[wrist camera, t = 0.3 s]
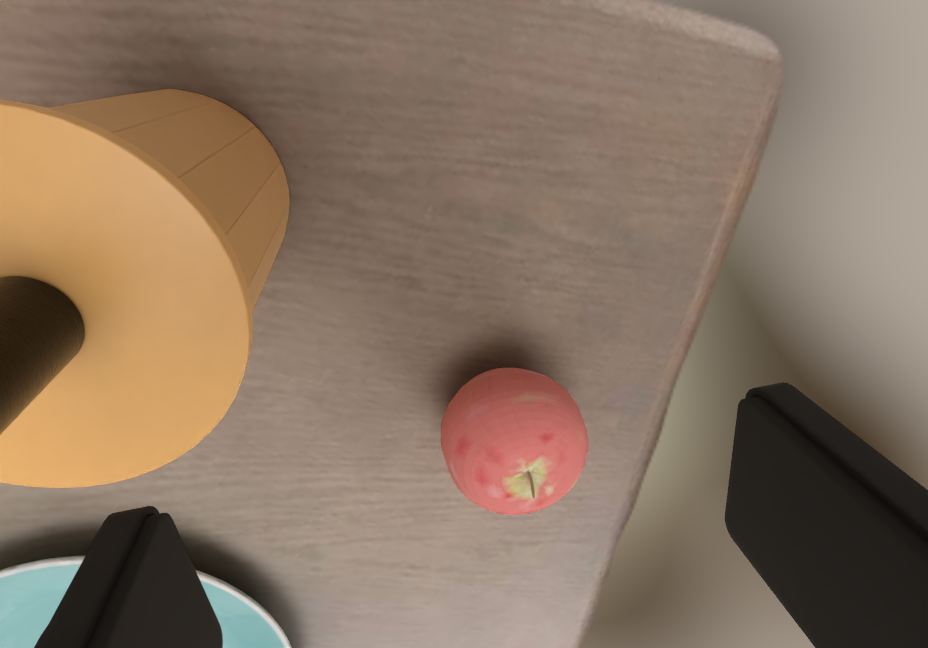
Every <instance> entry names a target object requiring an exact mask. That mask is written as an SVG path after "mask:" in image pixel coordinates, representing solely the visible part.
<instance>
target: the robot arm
mask: <svg viewBox="0 0 928 648" xmlns="http://www.w3.org/2000/svg"><path fill="white" fill-rule="evenodd" d="M727 495H728V496H727V503H726V511H725V522H726V526H727V529H728V532H729V534H730V536H731V537H732V539H733V540H734V542H735V543H736V544H737V546H738V547H739V548H740V549H741V551H742V552H743V553H744V555H745V556H746V557H747V559H748V560H749V561H750V563H751V564H752V565H753V567H754V568H755V569H756V571H757V572H758V573H759V574H760V576H761V577H762V578H763V579H764V581H765V582H766V583H767V585H768V586H769V587H770V589H771V590H772V591H773V593H774V594H775V595H776V597H777V598H778V599H779V601H780V602H781V603H782V604H783V606H784V607H785V608H786V610H787V611H788V612H789V614H790V615H791V616H792V618H793V619H794V620H795V622H796V623H797V624H798V625H799V627H800V628H801V629H802V631H803V632H804V633H805V634H806V636H807V637H808V639H809V640H810V641H811V643H812V644H813V645H814V646H815V648H928V490H926V489H925V488H924V487H923V486H921V485H920V484H919V483H918V482H916V481H915V480H913V479H912V478H911V477H910V476H909V475H907V474H906V473H905V472H903V471H902V470H901V469H899V468H898V467H897V466H896V465H894V464H893V463H892V462H890V461H889V460H888V459H886V458H885V457H884V456H883V455H881V454H880V453H879V452H877V451H876V450H875V449H874V448H872V447H871V446H870V445H868V444H867V443H866V442H864V441H863V440H862V439H861V438H859V437H858V436H857V435H855V434H854V433H853V432H852V431H850V430H849V429H848V428H846V427H845V426H844V425H843V424H841V423H840V422H839V421H837V420H836V419H835V418H834V417H832V416H831V415H830V414H828V413H827V412H826V411H824V410H823V409H822V408H821V407H819V406H818V405H817V404H815V403H814V402H813V401H812V400H810V399H809V398H808V397H806V396H805V395H804V394H803V393H801V392H800V391H799V390H797V389H796V388H795V387H793V386H792V385H790V384H788V383H778V384H772V385H767V386H762V387H757V388H753V389H751V390H749V391H748V392H747V394H746V398H745V399H743V400H741V401H740V402H739V405H738V411H737V420H736V427H735V436H734V445H733V452H732V461H731V470H730V478H729V486H728V494H727ZM34 648H223V635H222V629H221V626H220V623H219V621H218V619H217V617H216V615H215V612H214V610H213V608H212V606H211V604H210V601H209V599H208V597H207V595H206V593H205V590H204V588H203V586H202V584H201V581H200V579H199V577H198V575H197V573H196V570H195V568H194V566H193V564H192V562H191V559H190V557H189V555H188V553H187V551H186V548H185V546H184V544H183V542H182V539H181V537H180V535H179V533H178V531H177V528H176V526H175V524H174V522H173V520H172V518H171V516H170V515H169V514H168V513H162V514H160V513H159V512H158V510H157V509H156V508H155V507H153V506H147V507H142V508H137V509H132V510H127V511H122V512H116V513H112V514H111V515H109V516H108V517H107V518H106V519H105V521H104V523H103V524H102V526H101V528H100V530H99V532H98V534H97V535H96V537H95V539H94V541H93V543H92V545H91V547H90V548H89V550H88V552H87V554H86V556H85V558H84V559H83V561H82V563H81V565H80V567H79V569H78V571H77V572H76V574H75V576H74V578H73V580H72V582H71V584H70V585H69V587H68V589H67V591H66V593H65V595H64V596H63V598H62V600H61V602H60V604H59V606H58V608H57V609H56V611H55V613H54V615H53V617H52V619H51V620H50V622H49V624H48V626H47V627H46V629H45V630H44V631H43V633H42V634H41V636H40V638H39V639H38V641H37V643H36V645H35V647H34Z"/></svg>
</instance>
